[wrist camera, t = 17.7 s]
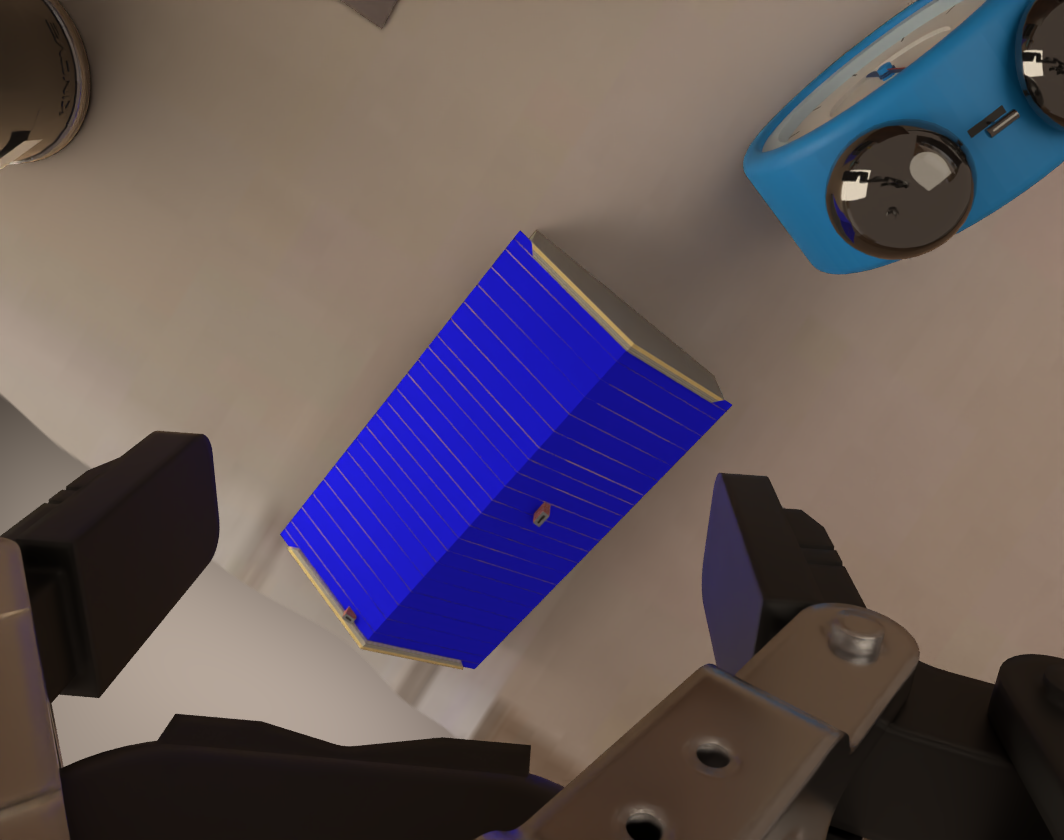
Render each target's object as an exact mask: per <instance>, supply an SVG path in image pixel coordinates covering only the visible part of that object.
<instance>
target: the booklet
mask: <svg viewBox="0 0 1064 840" xmlns="http://www.w3.org/2000/svg"><path fill="white" fill-rule="evenodd" d="M341 1H342V2H344V3H345V4H346V5H348V6H349V7H351V8H352V9H354V10H355V11H357V12H358V13H360V14H361V15H362V16H364V17H365V18H367V19H368V20H370V21H371V22H373V23H374V24H375V25H377V26H378V27H380V28H381V29H382V28H383V26H384V24H385V22H386V21H387V19H388V17H389V15H390V13H391V11H392V9H393V7H394V5H395V3H396V1H397V0H341Z"/></svg>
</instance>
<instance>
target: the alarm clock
mask: <svg viewBox="0 0 1064 840" xmlns="http://www.w3.org/2000/svg"><path fill="white" fill-rule="evenodd" d="M1063 161H1064V0H917V1H916V2H914V3H913V4H911V5H910V6H908V7H907V8H905V9H904V10H903V11H901V12H900V13H898V14H897V15H896V16H894V17H893V18H891V19H890V20H889V21H887V22H886V23H885V24H883V25H882V26H881V27H879V28H878V29H877V30H875V31H874V32H873V33H871V34H870V35H869V36H867V37H866V38H865V39H863V40H862V41H861V42H859V43H858V44H857V45H856V46H854V47H853V48H852V49H851V50H849V51H848V52H847V53H846V54H844V55H843V56H842V57H841V58H839V59H838V60H837V61H836V62H834V63H833V64H832V65H831V66H830V67H828V68H827V69H826V70H825V71H824V72H822V73H821V74H820V75H819V76H818V77H817V78H815V79H814V80H813V81H812V82H811V83H810V84H808V85H807V86H806V87H805V88H804V89H803V90H802V91H801V92H800V93H798V94H797V95H796V96H795V97H794V98H793V99H792V100H791V101H790V102H789V103H788V104H787V105H786V106H785V107H784V108H783V109H782V110H781V111H780V112H779V113H778V114H777V115H776V116H775V117H774V118H773V119H772V120H771V121H770V122H769V123H768V124H767V125H766V126H765V127H764V128H763V129H762V131H761V132H760V133H759V134H758V135H757V137H756V138H755V139H754V140H753V142H752V143H751V145H750V146H749V148H748V150H747V152H746V155H745V157H744V161H743V169H744V172H745V174H746V176H747V177H748V179H749V180H750V181H751V183H752V184H753V185H754V187H755V188H756V189H757V191H758V192H759V194H760V195H761V196H762V198H763V199H764V200H765V202H766V203H767V204H768V206H769V207H770V208H771V210H772V211H773V213H774V214H775V215H776V217H777V218H778V219H779V221H780V222H781V223H782V225H783V226H784V227H785V229H786V230H787V232H788V233H789V234H790V236H791V237H792V238H793V240H794V241H795V242H796V244H797V245H798V246H799V248H800V249H801V251H802V252H803V253H804V255H805V256H806V257H807V259H808V260H809V261H810V263H811V264H812V265H813V266H814V267H815V268H816V269H818V270H820V271H822V272H826V273H829V274H850V273H857V272H863V271H867V270H871V269H875V268H878V267H882V266H885V265H888V264H891V263H894V262H896V261H899V260H902V259H908V258H913V257H917V256H920V255H922V254H925V253H927V252H930V251H932V250H934V249H936V248H937V247H939V246H941V245H942V244H944V243H946V242H947V241H948V240H949V239H950V238H951V237H952V236H954V235H955V234H957V233H959V232H961V231H963V230H964V229H966V228H968V227H970V226H971V225H973V224H975V223H977V222H978V221H980V220H982V219H983V218H985V217H987V216H988V215H990V214H992V213H993V212H995V211H996V210H998V209H999V208H1001V207H1002V206H1004V205H1006V204H1007V203H1009V202H1010V201H1012V200H1013V199H1015V198H1016V197H1017V196H1019V195H1020V194H1022V193H1023V192H1025V191H1026V190H1028V189H1029V188H1030V187H1032V186H1033V185H1034V184H1036V183H1037V182H1038V181H1040V180H1041V179H1042V178H1044V177H1045V176H1046V175H1048V174H1049V173H1050V172H1051V171H1053V170H1054V169H1055V168H1056V167H1058V166H1059V165H1060V164H1061V163H1062V162H1063Z"/></svg>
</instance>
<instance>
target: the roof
mask: <svg viewBox="0 0 1064 840" xmlns="http://www.w3.org/2000/svg"><path fill="white" fill-rule="evenodd" d="M731 406H732V404H730V403H729V402H727V401H726V400H724V398H723V395H722V393H721V391H720V388H719V386H718V384H717V381H716V379H715V377H714V376H713V375H712V374H711V373H710V372H709V371H707V370H706V369H705V368H704V367H702V366H701V365H700V364H699V363H698V362H696V361H695V360H694V359H693V358H692V357H690V356H689V355H688V354H687V353H685V352H684V351H683V350H682V349H681V348H679V347H678V346H677V345H676V344H675V343H673V342H672V341H671V340H670V339H669V338H667V337H666V336H665V335H664V334H662V333H661V332H660V331H659V330H658V329H656V328H655V327H654V326H653V325H652V324H650V323H649V322H648V321H647V320H646V319H644V318H643V317H642V316H641V315H639V314H638V313H637V312H636V311H635V310H633V309H632V308H631V307H630V306H629V305H627V304H626V303H625V302H624V301H622V300H621V299H620V298H619V297H618V296H616V295H615V294H614V293H613V292H612V291H610V290H609V289H608V288H607V287H606V286H604V285H603V284H602V283H601V282H599V281H598V280H597V279H596V278H595V277H593V276H592V275H591V274H590V273H589V272H587V271H586V270H585V269H584V268H582V267H581V266H580V265H579V264H578V263H576V262H575V261H574V260H573V259H572V258H570V257H569V256H568V255H567V254H566V253H564V252H563V251H562V250H561V249H559V248H558V247H557V246H556V245H555V244H553V243H552V242H551V241H550V240H549V239H547V238H546V237H545V236H544V235H543V234H541V233H540V232H539V231H538V230H536V231H535V232H534V234H533V235H532V236H531V237H530V239H528V238H527V237H526V236H525V235H524V234H523V233H522V232H521V231H519V232H518V233H517V235H516V236H515V237H514V239H513V240H512V241H511V242H510V244H509V245H508V246H507V247H506V249H505V250H504V251H503V253H502V254H501V255H500V256H499V258H498V259H497V260H496V261H495V263H494V264H493V265H492V266H491V268H490V269H489V270H488V272H487V273H486V274H485V275H484V277H483V278H482V279H481V280H480V282H479V283H478V284H477V285H476V287H475V288H474V289H473V291H472V292H471V293H470V294H469V296H468V297H467V298H466V299H465V301H464V302H463V303H462V304H461V306H460V307H459V308H458V310H457V311H456V312H455V313H454V315H453V316H452V317H451V318H450V320H449V321H448V322H447V323H446V325H445V326H444V327H443V329H442V330H441V331H440V332H439V334H438V335H437V336H436V337H435V339H434V340H433V341H432V343H431V344H430V345H429V346H428V348H427V349H426V350H425V351H424V353H423V354H422V355H421V356H420V358H419V359H418V360H417V362H416V363H415V364H414V365H413V367H412V368H411V369H410V370H409V372H408V373H407V374H406V375H405V377H404V378H403V379H402V381H401V382H400V383H399V384H398V386H397V387H396V388H395V389H394V391H393V392H392V393H391V394H390V396H389V397H388V398H387V399H386V401H385V402H384V403H383V405H382V406H381V407H380V408H379V410H378V411H377V412H376V413H375V415H374V416H373V417H372V419H371V420H370V421H369V422H368V424H367V425H366V426H365V427H364V429H363V430H362V431H361V432H360V434H359V435H358V436H357V437H356V439H355V440H354V441H353V443H352V444H351V445H350V446H349V448H348V449H347V450H346V452H345V453H344V454H343V455H342V457H341V458H340V459H339V460H338V462H337V463H336V464H335V465H334V467H333V468H332V469H331V471H330V472H329V473H328V474H327V476H326V477H325V478H324V479H323V481H322V482H321V483H320V484H319V486H318V487H317V488H316V490H315V491H314V492H313V493H312V495H311V496H310V497H309V498H308V500H307V501H306V502H305V503H304V505H303V506H302V507H301V509H300V510H299V511H298V512H297V514H296V515H295V516H294V517H293V519H292V520H291V521H290V522H289V524H288V525H287V526H286V527H285V529H284V530H283V531H282V533H281V534H280V535H281V536H282V537H283V539H284V540H285V542H286V543H287V544H288V547H287V549H288V551H289V552H290V553H291V555H292V556H293V557H294V559H295V560H296V561H297V563H298V564H299V566H300V567H301V568H302V570H303V571H304V572H305V574H306V575H307V576H308V578H309V579H310V581H311V582H312V583H313V585H314V586H315V587H316V589H317V590H318V591H319V593H320V594H321V596H322V597H323V598H324V600H325V601H326V602H327V604H328V605H329V606H330V608H331V609H332V610H333V612H334V613H335V615H336V616H337V617H338V619H339V620H340V621H341V623H342V624H343V625H344V627H345V628H346V630H347V631H348V632H349V634H350V635H351V636H352V638H353V639H354V640H355V642H356V643H357V644H358V646H359V647H360V649H363V650H368V651H373V652H378V653H383V654H388V655H393V656H398V657H403V658H408V659H413V660H417V661H422V662H427V663H432V664H437V665H442V666H447V667H452V668H457V669H462V670H463V667H467V668H472V669H475V668H476V667H477V666H478V665H479V664H480V663H481V662H482V661H483V660H484V659H485V658H486V657H487V656H488V655H489V654H490V653H491V652H492V651H493V650H494V649H495V648H496V647H497V646H498V645H499V644H500V643H501V642H502V641H503V640H504V639H505V637H506V636H507V635H508V634H509V633H510V632H511V631H512V630H513V629H514V628H515V627H516V626H517V625H518V624H519V623H520V622H521V621H522V620H523V619H524V618H525V617H526V616H527V615H528V614H529V613H530V612H531V611H532V610H533V609H534V608H535V607H536V606H537V605H538V604H539V603H540V602H541V601H542V600H543V599H544V598H545V597H546V596H547V594H548V593H549V592H550V591H551V590H552V589H553V588H554V587H555V586H556V585H557V584H558V583H559V582H560V581H561V580H562V579H563V578H564V577H565V576H566V575H567V574H568V573H569V572H570V571H571V570H572V569H573V568H574V567H575V566H576V565H577V564H578V563H579V562H580V561H581V560H582V559H583V558H584V557H585V556H586V555H587V554H588V552H589V551H590V550H591V549H592V548H593V547H594V546H595V545H596V544H597V543H598V542H599V541H600V540H601V539H602V538H603V537H604V536H605V535H606V534H607V533H608V532H609V531H610V530H611V529H612V528H613V527H614V526H615V525H616V524H617V523H618V522H619V521H620V520H621V519H622V518H623V517H624V516H625V515H626V514H627V513H628V512H629V511H630V509H631V508H632V507H633V506H634V505H635V504H636V503H637V502H638V501H639V500H640V499H641V498H642V497H643V496H644V495H645V494H646V493H647V492H648V491H649V490H650V489H651V488H652V487H653V486H654V485H655V484H656V483H657V482H658V481H659V480H660V479H661V478H662V477H663V476H664V475H665V474H666V473H667V472H668V471H669V470H670V469H671V468H672V466H673V465H674V464H675V463H676V462H677V461H678V460H679V459H680V458H681V457H682V456H683V455H684V454H685V453H686V452H687V451H688V450H689V449H690V448H691V447H692V446H693V445H694V444H695V443H696V442H697V441H698V440H699V439H700V438H701V437H702V436H703V435H704V434H705V433H706V432H707V431H708V430H709V429H710V428H711V427H712V426H713V425H714V423H715V422H716V421H717V420H718V419H719V418H720V417H721V416H722V415H723V414H724V413H725V412H726V411H727V410H728V409H729V408H730V407H731Z"/></svg>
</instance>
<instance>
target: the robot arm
mask: <svg viewBox="0 0 1064 840" xmlns="http://www.w3.org/2000/svg"><path fill="white" fill-rule="evenodd" d="M89 99H90V70H89V64H88V59H87V55H86V51H85V48H84V45H83V43H82V40H81V37H80V35H79V33H78V31H77V29H76V27H75V25H74V23H73V21H72V20H71V18H70V17H69V15H68V13H67V12H66V10H65V9H64V8H63V7H62V5H61V4H60V3H59V1H58V0H0V170H1V169H3V168H4V167H5V166H7V165H8V164H20V163H28V162H34V161H39V160H42V159H45V158H47V157H49V156H51V155H54V154H55V153H57V152H58V151H60V150H61V149H62V148H64V147H65V146H66V145H67V144H68V143H69V142H70V141H71V140H72V139H73V137H74V136H75V135H76V133H77V132H78V130H79V128H80V127H81V125H82V123H83V120H84V118H85V115H86V112H87V109H88V104H89ZM218 539H219V513H218V503H217V493H216V483H215V473H214V463H213V453H212V447H211V444H210V441H209V439H208V438H207V437H206V436H205V435H204V434H194V433H180V432H166V431H154V432H152V433H151V434H150V435H148V436H147V437H146V438H144V439H143V440H142V441H141V442H139V443H138V444H137V445H135V446H134V447H133V448H131V449H130V450H129V451H128V452H126V453H125V454H124V455H122V456H121V457H120V458H117V459H115V460H112V461H110V462H107V463H105V464H103V465H100V466H98V467H95V468H93V469H90V470H88V471H86V472H85V473H84V474H82V475H81V476H80V477H78V478H77V479H76V480H74V481H73V482H72V483H70V484H69V485H68V486H66V490H61V491H60V492H58V493H57V494H56V495H54V496H53V497H52V498H50V499H49V503H44V504H42V505H41V506H40V507H38V508H37V509H36V510H34V511H33V512H32V513H30V514H29V515H28V516H26V517H25V518H24V519H23V520H21V521H20V522H19V523H17V524H16V525H14V526H13V527H12V528H10V529H9V530H8V531H7V532H5V533H4V534H2V535H1V536H0V840H1064V659H1062V658H1058V657H1053V656H1047V655H1037V654H1025V655H1018V656H1014V657H1012V658H1009V659H1007V660H1006V661H1005V662H1003V664H1002V665H1001V667H1000V670H999V673H998V676H997V679H996V682H995V684H991V683H988V682H984V681H980V680H977V679H973V678H969V677H966V676H962V675H959V674H955V673H951V672H948V671H945V670H941V669H938V668H935V667H933V666H930V665H928V664H925V663H923V662H921V661H919V655H920V651H919V647H918V645H917V643H916V641H915V639H914V638H913V637H912V635H911V634H910V633H909V632H908V631H907V630H906V629H905V628H904V627H902V626H901V625H899V624H898V623H897V622H895V621H893V620H892V619H890V618H888V617H886V616H884V615H882V614H880V613H878V612H875V611H872V610H870V609H867V608H866V606H865V604H864V602H863V600H862V598H861V597H860V595H859V593H858V591H857V589H856V587H855V585H854V583H853V581H852V579H851V578H850V576H849V574H848V572H847V570H846V568H845V567H844V566H842V561H841V559H840V557H839V555H838V553H837V551H836V550H834V545H833V544H832V542H831V540H830V538H829V536H828V534H827V532H826V530H825V528H824V527H823V526H821V525H820V524H819V523H818V522H816V521H815V520H814V519H812V518H811V517H810V516H809V515H807V514H806V513H805V512H803V511H802V510H798V509H784V508H782V506H781V504H780V502H779V499H778V497H777V495H776V493H775V491H774V488H773V486H772V484H771V482H770V480H769V478H768V477H767V476H756V475H742V474H728V473H719V474H718V475H717V477H716V481H715V485H714V490H713V497H712V504H711V511H710V518H709V525H708V532H707V539H706V546H705V553H704V560H703V569H702V597H703V604H704V609H705V614H706V618H707V623H708V628H709V632H710V637H711V642H712V646H713V651H714V656H715V660H716V665H717V666H715V665H713V664H706V665H704V666H702V667H700V668H699V669H698V670H696V671H695V672H694V673H693V674H692V675H691V676H690V677H688V678H687V679H686V680H685V681H684V682H683V683H682V684H681V685H679V686H678V687H677V688H676V689H675V690H674V691H673V692H672V693H670V694H669V695H668V696H667V697H666V698H665V699H664V700H662V701H661V702H660V703H659V704H658V705H657V706H656V707H655V708H653V709H652V710H651V711H650V712H649V713H648V714H647V715H646V716H644V717H643V718H642V719H641V720H640V721H639V722H638V723H637V724H635V725H634V726H633V727H632V728H631V729H630V730H629V731H628V732H626V733H625V734H624V735H623V736H622V737H621V738H620V739H619V740H617V741H616V742H615V743H614V744H613V745H612V746H611V747H610V748H608V749H607V750H606V751H605V752H604V753H603V754H602V755H601V756H599V757H598V758H597V759H596V760H595V761H594V762H593V763H592V764H590V765H589V766H588V767H587V768H586V769H585V770H584V771H582V772H581V773H580V774H579V775H578V776H577V777H576V778H575V779H573V780H572V781H571V782H570V783H569V784H568V785H567V786H566V787H563V786H561V785H559V784H557V783H554V782H552V781H550V780H547V779H545V778H542V777H539V776H536V775H533V774H530V773H529V767H530V751H531V745H522V744H511V743H499V742H488V741H477V740H465V739H453V738H443V737H442V738H432V739H423V740H412V741H402V742H392V743H383V744H372V745H362V746H340V745H336V744H332V743H329V742H326V741H323V740H320V739H317V738H313V737H310V736H307V735H304V734H300V733H297V732H294V731H291V730H287V729H284V728H281V727H278V726H275V725H271V724H268V723H265V722H262V721H250V720H238V719H228V718H217V717H206V716H194V715H183V714H175V715H174V717H173V718H172V720H171V721H170V723H169V724H168V726H167V727H166V729H165V730H164V732H163V733H162V735H161V736H160V737H159V739H158V740H157V741H152V742H146V743H140V744H135V745H129V746H124V747H121V748H117V749H113V750H109V751H105V752H102V753H99V754H96V755H93V756H90V757H87V758H85V759H82V760H79V761H77V762H75V763H72V764H70V765H68V766H65V767H63V762H62V756H61V751H60V746H59V740H58V735H57V729H56V724H55V719H54V714H53V709H52V704H51V703H52V702H53V701H54V700H55V698H56V697H57V696H58V695H59V694H60V695H72V696H84V697H95V698H99V697H100V696H101V695H102V694H103V693H104V692H105V690H106V689H107V688H108V687H109V685H110V684H111V683H112V682H113V681H114V679H115V678H116V677H117V675H118V674H119V673H120V672H121V671H122V669H123V668H124V667H125V666H126V665H127V663H128V662H129V661H130V659H131V658H132V657H133V656H134V654H136V652H137V651H138V650H139V648H140V647H141V646H142V645H143V644H144V642H145V641H146V640H147V639H148V638H149V636H150V635H151V634H152V633H153V631H154V630H155V629H156V628H157V627H158V625H159V624H160V623H161V622H162V620H163V619H164V618H165V617H166V615H167V614H168V613H169V611H170V610H171V609H172V608H173V607H174V606H175V604H176V603H177V602H178V601H179V600H180V598H181V597H182V596H183V595H184V593H185V592H186V591H187V590H188V588H189V587H190V586H191V585H192V584H193V582H194V581H195V580H196V578H198V576H199V575H200V574H201V573H202V571H203V570H204V569H205V568H206V566H207V565H208V564H209V563H210V561H211V560H212V558H213V556H214V553H215V551H216V548H217V544H218Z"/></svg>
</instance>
